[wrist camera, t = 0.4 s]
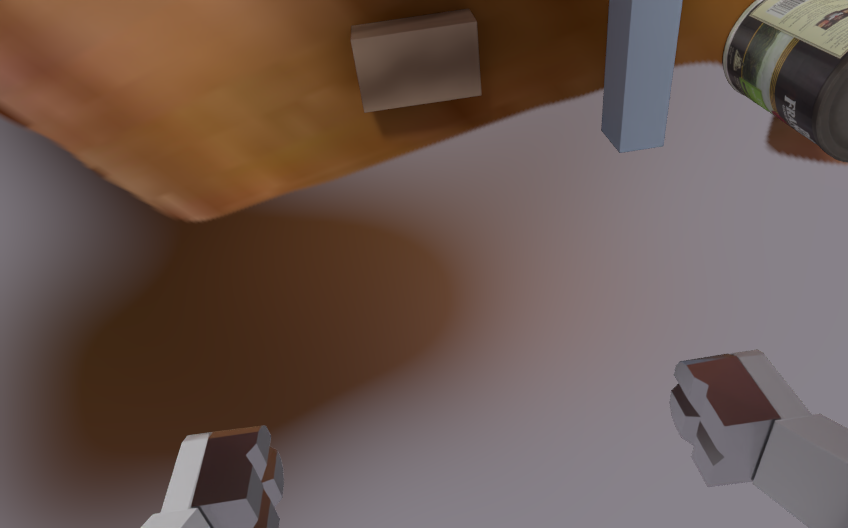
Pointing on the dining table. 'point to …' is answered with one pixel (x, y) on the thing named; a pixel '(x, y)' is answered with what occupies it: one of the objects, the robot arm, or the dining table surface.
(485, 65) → the dining table surface
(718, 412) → the robot arm
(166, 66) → the dining table surface
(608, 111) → the board
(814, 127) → the coffee can
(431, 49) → the walnut block
